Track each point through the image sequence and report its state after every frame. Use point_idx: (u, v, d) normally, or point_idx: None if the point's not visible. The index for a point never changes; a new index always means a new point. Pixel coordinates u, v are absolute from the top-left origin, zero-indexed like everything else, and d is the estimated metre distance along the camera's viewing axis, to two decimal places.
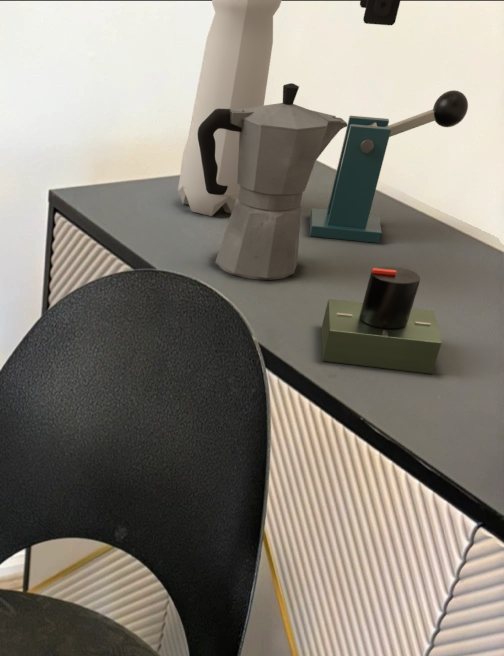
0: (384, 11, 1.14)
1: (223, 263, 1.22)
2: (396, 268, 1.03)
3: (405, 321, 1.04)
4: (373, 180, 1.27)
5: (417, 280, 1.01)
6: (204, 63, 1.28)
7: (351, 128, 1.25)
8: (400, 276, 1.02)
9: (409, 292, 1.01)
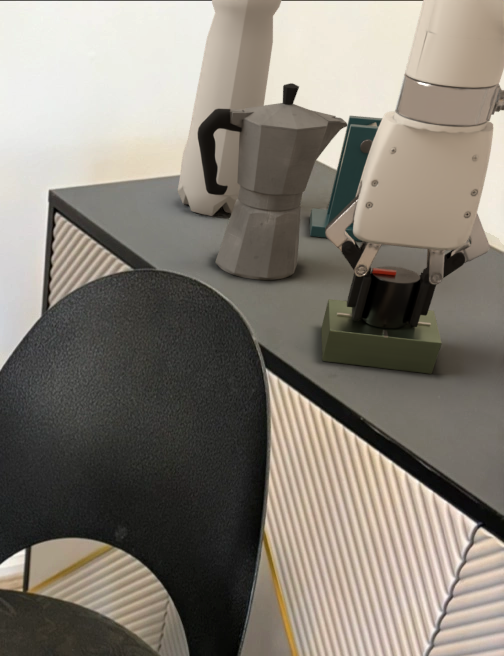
0: None
1: (223, 263, 1.22)
2: (396, 268, 1.03)
3: (405, 321, 1.04)
4: None
5: (417, 280, 1.01)
6: (204, 63, 1.28)
7: (351, 128, 1.25)
8: (400, 276, 1.02)
9: (409, 292, 1.01)
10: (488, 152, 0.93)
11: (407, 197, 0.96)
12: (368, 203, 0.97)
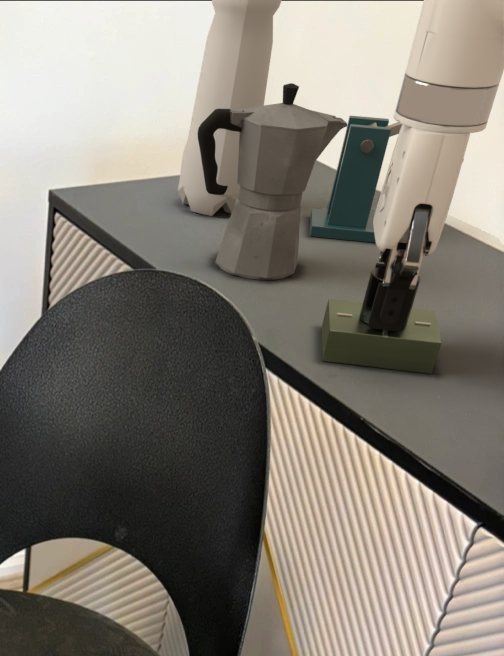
0: None
1: (223, 263, 1.22)
2: (377, 272, 1.03)
3: None
4: (373, 180, 1.27)
5: None
6: (204, 63, 1.28)
7: (351, 128, 1.25)
8: None
9: None
10: None
11: None
12: None
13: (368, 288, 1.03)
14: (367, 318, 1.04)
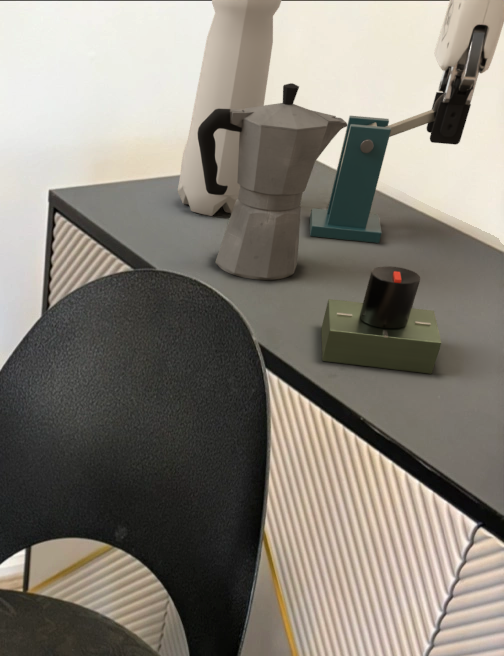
0: None
1: (223, 263, 1.22)
2: (377, 272, 1.03)
3: None
4: (373, 180, 1.27)
5: None
6: (204, 63, 1.28)
7: (351, 128, 1.25)
8: (399, 273, 1.03)
9: None
10: None
11: None
12: None
13: (368, 288, 1.03)
14: (367, 318, 1.04)
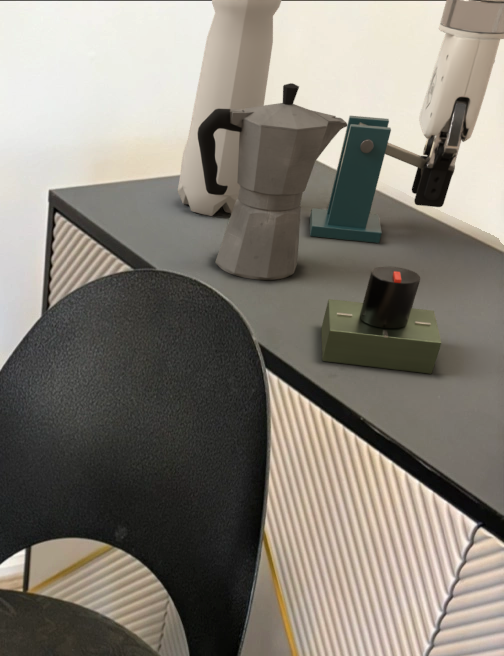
0: None
1: (223, 263, 1.22)
2: (377, 272, 1.03)
3: None
4: (373, 180, 1.27)
5: None
6: (204, 63, 1.28)
7: (351, 128, 1.25)
8: (399, 273, 1.03)
9: None
10: None
11: None
12: None
13: (368, 288, 1.03)
14: (367, 318, 1.04)
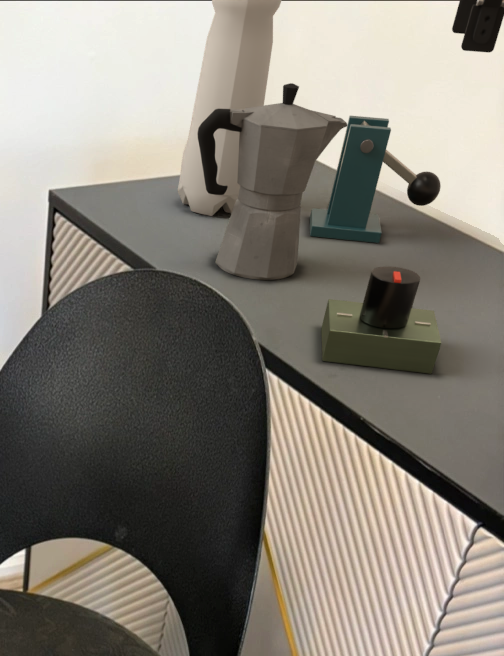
0: None
1: (223, 263, 1.22)
2: (377, 272, 1.03)
3: None
4: (373, 180, 1.27)
5: None
6: (204, 63, 1.28)
7: (351, 128, 1.25)
8: (399, 273, 1.03)
9: None
10: None
11: None
12: None
13: (368, 288, 1.03)
14: (367, 318, 1.04)
